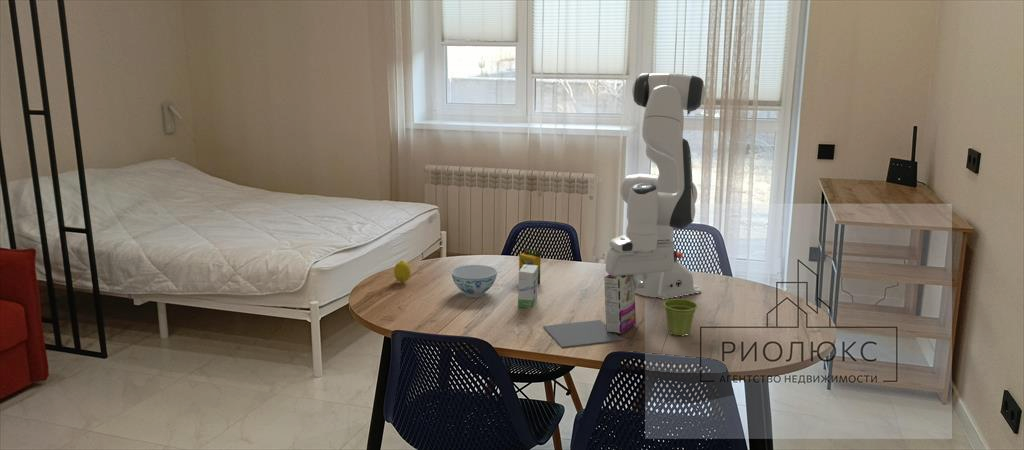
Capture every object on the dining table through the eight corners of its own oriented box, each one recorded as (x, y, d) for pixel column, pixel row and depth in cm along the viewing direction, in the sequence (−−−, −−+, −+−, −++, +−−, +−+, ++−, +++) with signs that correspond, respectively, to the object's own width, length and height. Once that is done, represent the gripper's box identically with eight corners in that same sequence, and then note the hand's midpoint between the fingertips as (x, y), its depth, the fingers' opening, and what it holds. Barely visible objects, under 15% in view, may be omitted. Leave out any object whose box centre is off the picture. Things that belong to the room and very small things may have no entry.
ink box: (522, 298, 251) (522, 263, 248) (538, 299, 250) (538, 264, 247) (517, 307, 243) (517, 271, 240) (533, 308, 242) (533, 272, 239)
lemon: (414, 282, 268) (413, 259, 266) (403, 286, 263) (402, 263, 261) (401, 279, 270) (400, 257, 269) (391, 283, 266) (390, 261, 264)
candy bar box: (620, 322, 231) (619, 268, 228) (636, 324, 228) (635, 269, 226) (604, 332, 221) (603, 275, 219) (620, 334, 219) (619, 277, 216)
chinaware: (470, 304, 246) (470, 281, 244) (442, 293, 256) (442, 270, 255) (506, 294, 255) (506, 272, 253) (477, 283, 266) (477, 262, 264)
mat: (600, 321, 232) (600, 319, 231) (622, 340, 217) (622, 339, 217) (543, 327, 227) (543, 326, 226) (562, 347, 212) (562, 346, 212)
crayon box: (518, 281, 268) (518, 249, 266) (524, 279, 271) (524, 247, 268) (535, 286, 264) (535, 253, 261) (540, 283, 266) (540, 251, 263)
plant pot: (674, 341, 217) (676, 311, 214) (655, 329, 225) (657, 301, 223) (702, 336, 220) (704, 307, 218) (682, 325, 229) (684, 297, 227)
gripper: (669, 236, 226) (666, 281, 229) (604, 241, 220) (602, 287, 223) (679, 241, 220) (677, 287, 223) (613, 246, 214) (611, 294, 217)
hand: (639, 287), depth 223 cm, fingers closed
